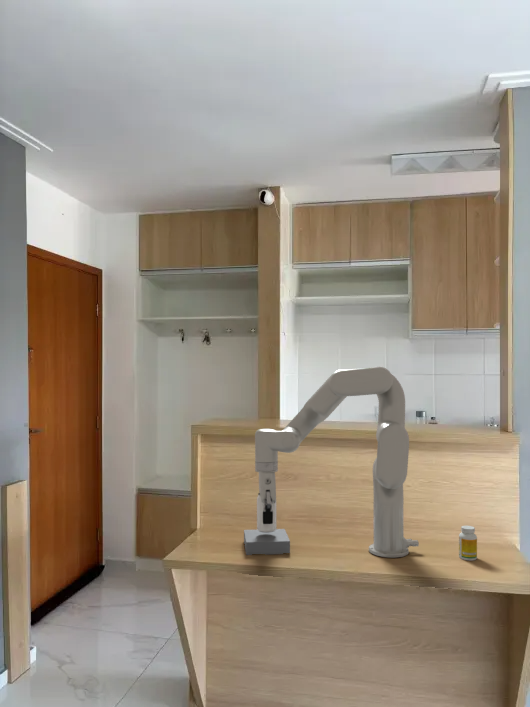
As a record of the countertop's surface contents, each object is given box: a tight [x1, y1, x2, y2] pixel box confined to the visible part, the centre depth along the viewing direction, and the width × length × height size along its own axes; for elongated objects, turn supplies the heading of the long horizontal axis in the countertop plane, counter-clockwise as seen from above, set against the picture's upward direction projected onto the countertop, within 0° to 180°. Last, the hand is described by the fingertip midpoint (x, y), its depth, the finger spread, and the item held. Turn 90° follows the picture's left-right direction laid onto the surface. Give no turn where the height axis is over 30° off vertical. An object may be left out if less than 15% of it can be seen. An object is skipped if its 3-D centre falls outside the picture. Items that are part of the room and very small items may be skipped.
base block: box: [243, 528, 291, 556], centre depth 191 cm, size 14×14×4 cm
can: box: [256, 492, 277, 533], centre depth 191 cm, size 6×6×12 cm
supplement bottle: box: [458, 525, 478, 562], centre depth 181 cm, size 5×5×10 cm
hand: (266, 520), depth 191 cm, fingers closed on can, 6 cm apart
